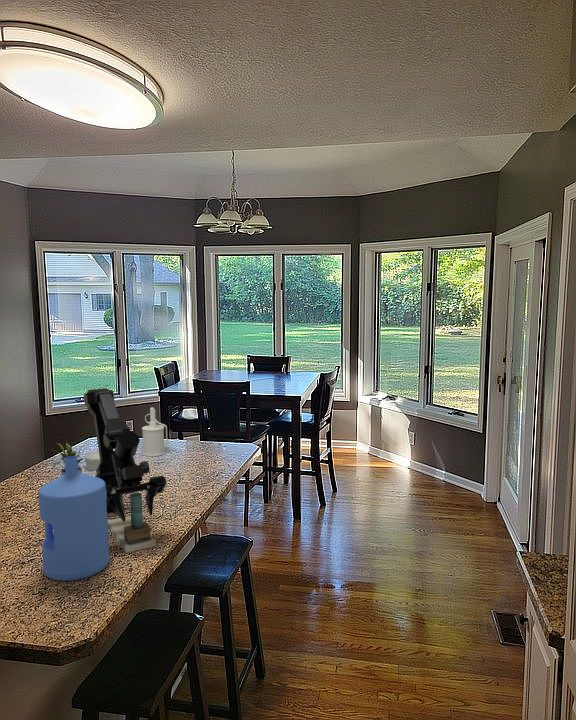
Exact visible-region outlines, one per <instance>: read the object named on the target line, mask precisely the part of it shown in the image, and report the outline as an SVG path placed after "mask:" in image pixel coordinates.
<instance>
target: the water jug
mask: <svg viewBox="0 0 576 720" xmlns="http://www.w3.org/2000/svg"><path fill="white" fill-rule="evenodd" d="M64 460H65V464H64V465H65V466H64V468H65V474H64V475H63V476H62V475H61V476H59V477H58V478H57V477H56V478H55V479H53V480H52V481H49V482H47V483H45V484H44V485H42V486H41V487H40V489H39V490H38V508H39V516H40V517H39V519H40V520H41V521H43V522H44V536H45V538H44V540H43V542H42V544H41V549H42V550H41V552H42V553H41V554H42V562H41V563H42V572H43V574H44V575H45V576H46V577H47V578H49V579H51V580H54V581H59V582H60V581H61V582H71V581H79V580H84V579H86V578H90V577H93V576H94V575H96V574H99V573H100V572H101V571H103V570H104V569H105V568H106V567H107V566H108V565H109V562H110V560H111V558H110V549H109V527H108V520H109V519H108V512H107V505H106V499H107V492H106V485H105V482H104V481H103V480H102V479H100V478H97V477H95V476H93V475H89V474H86V473H85V474H84V473H83V472H82V473H79V471H78V466H79V465H80V464H79V463H78V460H79V457H77V455H76V456H70V457H66V458H64ZM79 467H80V466H79Z"/></svg>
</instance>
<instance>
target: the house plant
mask: <svg viewBox="0 0 576 720" xmlns="http://www.w3.org/2000/svg"><path fill="white" fill-rule="evenodd" d="M56 444H57V445H58V446H60V449H61V450H62V452H59V455H60V456H61V457H60V458H59V460H62V461H63V462H61V461H57V462H54V464H53V465H52V467H53V466H56V465H57V464H58V465H60V466H62V465H61V464H63V465H64V466H62V467H63V468H62V469H61V470H60V474H61V476H63V475H64V474H65V460H64V458H66V457H70V456H77V457H78V464H79V463H81V464H83V463H84V462H85V459H84V457H83V458H79V457H80V456H82V455H83V454H82V453H83V452H84V451H85V450H86V449H88V448H90V447H91V446H87V447H85V448H84V449H83V450H82V448H83V446H84V445H81V447H80V448H79V450H78V452H77V451H73V448H72V447H73V445H69V444H68V442H66V443H65V448H66V449H65V448H64V446H63V445H62V444H60V443H57V442H56ZM81 450H82V451H81ZM52 451H53V452H56V454H58V450H56V449H53V448H52ZM79 453H80V454H79ZM83 460H84V461H83ZM86 461H87V460H86ZM85 463H86V462H85ZM81 464H79V466H78V471H79V473H82V474H83V472H82V471H83V467H82V466H81Z"/></svg>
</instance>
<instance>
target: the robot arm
mask: <svg viewBox="0 0 576 720" xmlns="http://www.w3.org/2000/svg"><path fill="white" fill-rule="evenodd" d="M83 403H84V405H86V410H87V412H88V413H89V414H90V415H91V416H92V418H93V419H94V420H93V422H94V428H95V434H96V441H97V449H98V451H99V456H100V463H99V466H98V468H97V470H96V471H95V473H96V474H95V476H94V477H97V478H100V479H102V480H103V481H104V482H105V485H106V492H107V499H106V505H107V513H116V515H117V516H118V518H121V519H122V521H123V522H125V520H126V519H125V517H126V516H125V512H124V509H123V506H124V500H123V498H124V497H123V495H126V494H133V493H139V492H142V491H143V492H144V491H145V492H146V494H145V502H146V507H147V511H148V514H149V517H152V516H153V510H154V498H155V497H157V494H161V493H163V492H164V490H165V488H166V486H167V483H168V482H167V479H166V476H164V475H157V476H152V477H149V480H148V482H143V483H141V482H142V481H143V477H144V476H145V474H149V473H150V470H151V469H150V465H149V462H148V460H146V461H141V462H140V463H139V464H137V463H136V461H135V458H134V456H135V455H136V453H137V450H138V447H139V445H140V441H141V440H140V437H139V434H137V433H135V431H131V429H130V427H129V426H128V424H127V423H126V422H124V421H122V420H121V417H120V415H119V412H118V408H117V405H116V403H115V396H114V390H112V389H109V388H106V387H105V388H97V389H87V391H86V392H85V393H84V394H83Z"/></svg>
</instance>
